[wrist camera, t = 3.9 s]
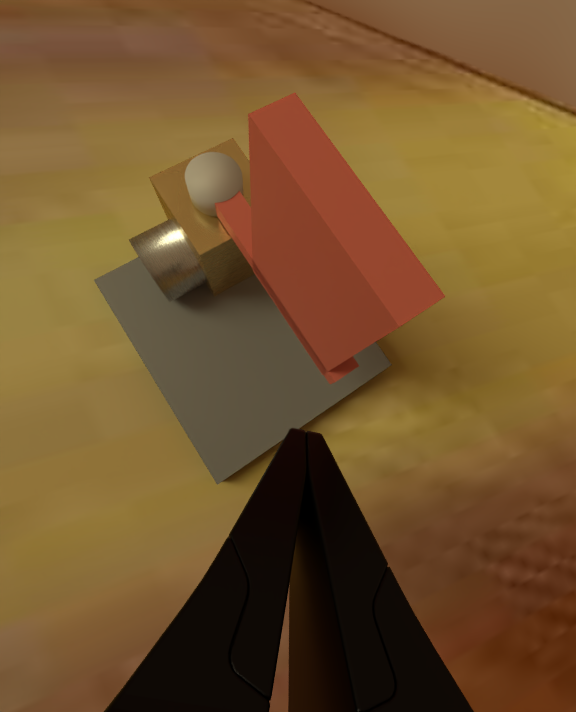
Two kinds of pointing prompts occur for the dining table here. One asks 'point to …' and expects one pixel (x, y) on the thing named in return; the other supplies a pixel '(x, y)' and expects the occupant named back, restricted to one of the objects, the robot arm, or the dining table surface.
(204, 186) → the valve lever
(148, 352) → the mounting board
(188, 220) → the ball valve
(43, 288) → the dining table surface
